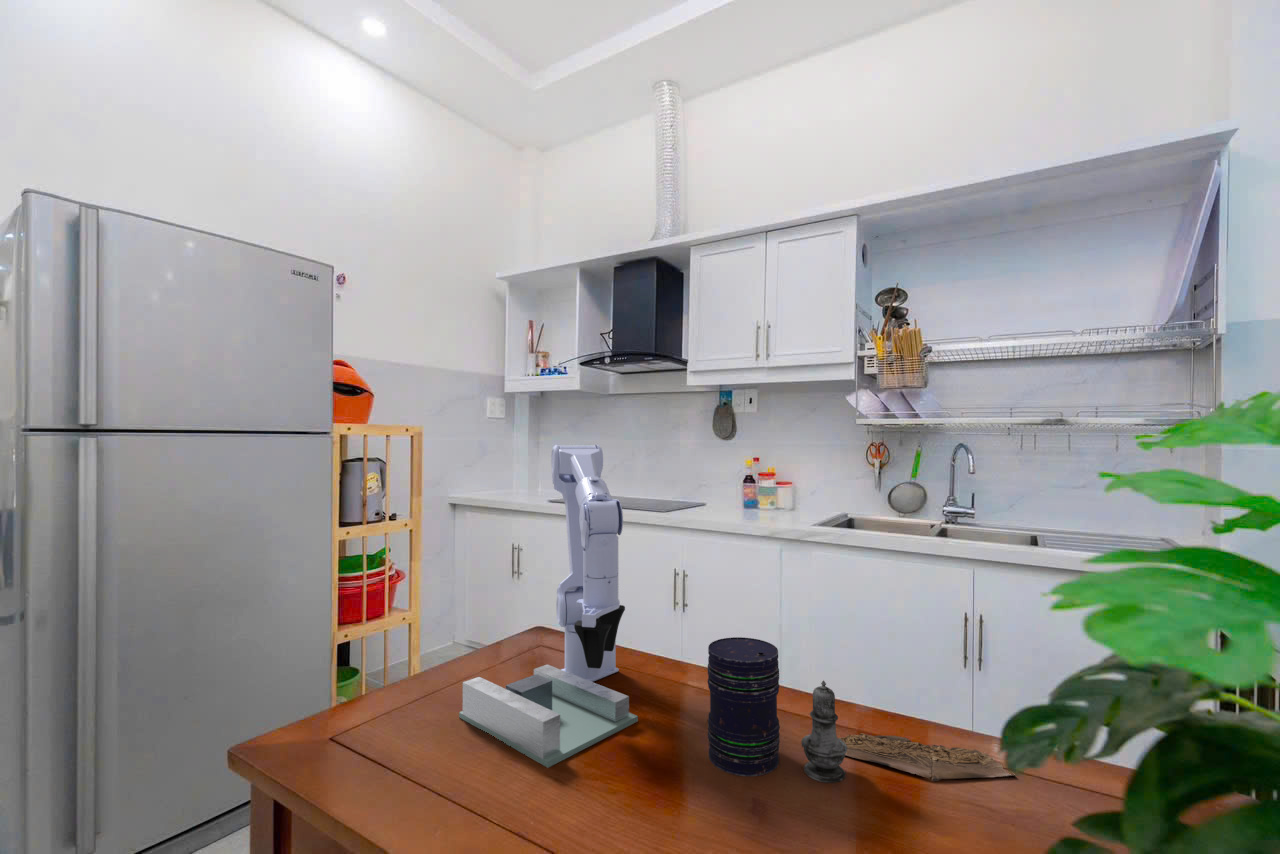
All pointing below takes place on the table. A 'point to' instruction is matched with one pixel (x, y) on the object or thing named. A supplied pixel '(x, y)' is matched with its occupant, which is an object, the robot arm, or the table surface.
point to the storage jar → (743, 706)
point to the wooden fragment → (923, 757)
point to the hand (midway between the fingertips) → (600, 658)
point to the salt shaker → (824, 740)
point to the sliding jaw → (586, 693)
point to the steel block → (534, 690)
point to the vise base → (572, 730)
